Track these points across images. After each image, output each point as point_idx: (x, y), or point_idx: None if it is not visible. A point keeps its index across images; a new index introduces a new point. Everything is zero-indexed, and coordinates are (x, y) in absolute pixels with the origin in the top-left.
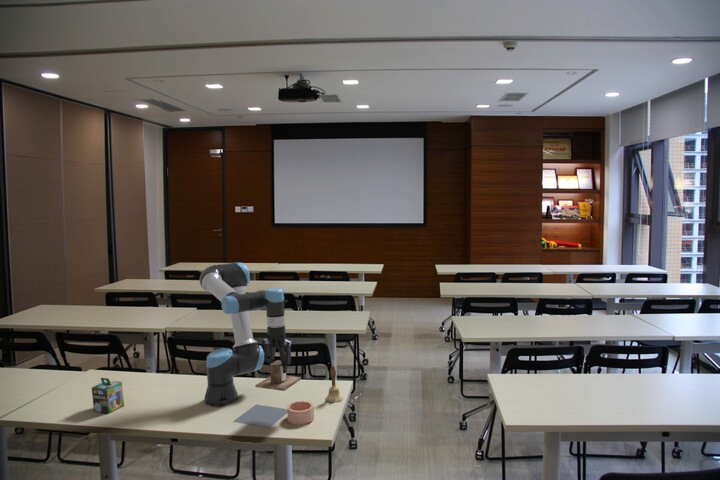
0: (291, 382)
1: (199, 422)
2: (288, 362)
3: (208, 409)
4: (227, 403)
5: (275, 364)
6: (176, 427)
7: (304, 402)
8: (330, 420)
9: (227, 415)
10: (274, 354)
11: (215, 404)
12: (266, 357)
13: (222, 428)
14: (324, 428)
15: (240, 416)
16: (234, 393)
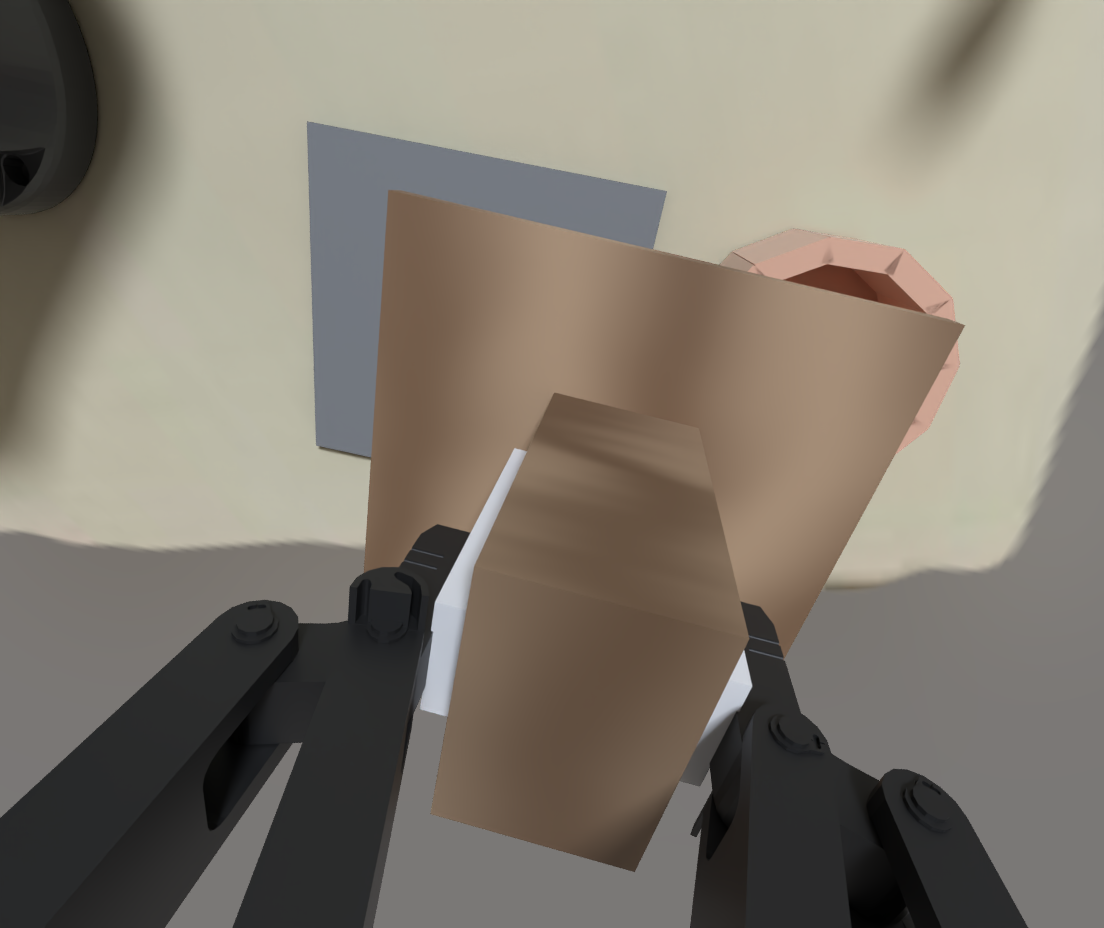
0: (807, 543)
1: (130, 452)
2: (912, 925)
3: (23, 262)
4: (76, 164)
5: (552, 820)
6: (68, 514)
7: (848, 266)
8: (1054, 327)
9: (217, 341)
10: (370, 902)
11: (13, 214)
12: (204, 840)
13: (307, 507)
14: (989, 458)
15: (320, 370)
16: (7, 45)
